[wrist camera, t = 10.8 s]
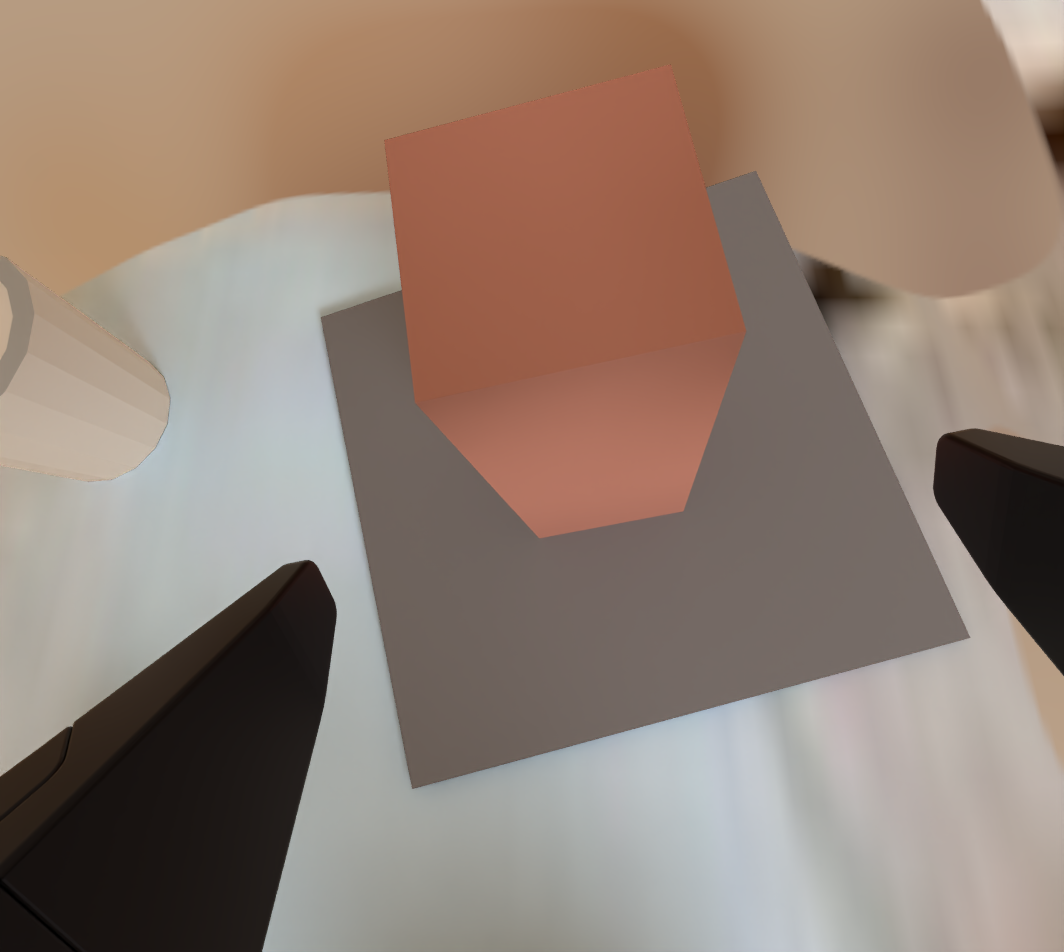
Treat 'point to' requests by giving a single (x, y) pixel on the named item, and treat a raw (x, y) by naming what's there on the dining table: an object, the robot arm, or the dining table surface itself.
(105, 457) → the shot glass
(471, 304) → the card box
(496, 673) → the mat
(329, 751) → the dining table surface
